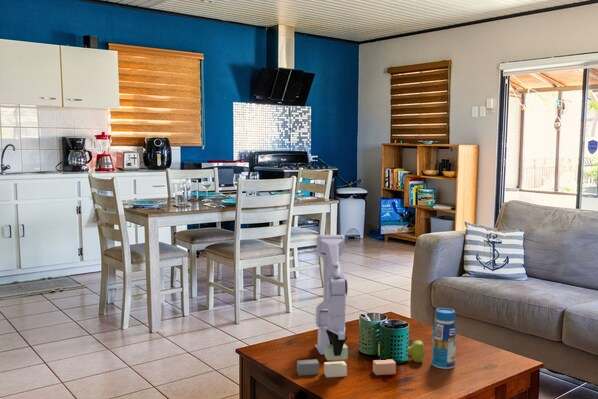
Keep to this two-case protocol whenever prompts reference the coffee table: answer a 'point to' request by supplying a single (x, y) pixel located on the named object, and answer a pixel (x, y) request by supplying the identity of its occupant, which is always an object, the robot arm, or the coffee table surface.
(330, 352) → the brick sage
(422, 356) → the dumbbell
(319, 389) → the coffee table surface
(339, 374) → the brick cream
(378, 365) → the brick terracotta
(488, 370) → the coffee table surface
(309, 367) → the brick charcoal
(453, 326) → the beverage bottle
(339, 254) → the robot arm
